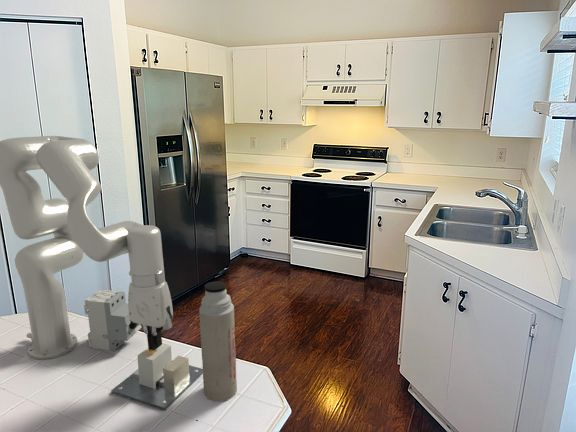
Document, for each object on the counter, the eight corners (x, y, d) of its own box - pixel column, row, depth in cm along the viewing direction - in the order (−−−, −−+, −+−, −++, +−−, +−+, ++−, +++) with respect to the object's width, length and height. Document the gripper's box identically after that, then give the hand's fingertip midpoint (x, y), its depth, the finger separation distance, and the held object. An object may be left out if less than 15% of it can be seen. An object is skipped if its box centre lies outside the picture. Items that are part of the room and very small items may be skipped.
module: (139, 383, 104) (137, 351, 102) (158, 368, 111) (156, 337, 108) (153, 389, 103) (152, 356, 100) (172, 372, 109) (170, 342, 107)
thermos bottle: (242, 384, 106) (239, 280, 99) (227, 405, 98) (222, 294, 91) (214, 378, 108) (209, 276, 101) (197, 397, 101) (190, 289, 94)
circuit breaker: (134, 353, 119) (129, 304, 116) (89, 347, 122) (83, 300, 118) (147, 339, 126) (143, 293, 123) (105, 334, 129) (99, 289, 125)
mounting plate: (111, 393, 102) (108, 368, 101) (155, 358, 117) (153, 336, 115) (164, 410, 96) (162, 384, 95) (204, 371, 111) (203, 348, 109)
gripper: (112, 279, 99) (120, 348, 104) (163, 288, 94) (170, 361, 98) (134, 268, 106) (142, 334, 111) (183, 276, 100) (189, 345, 105)
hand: (155, 346), depth 104 cm, fingers closed
